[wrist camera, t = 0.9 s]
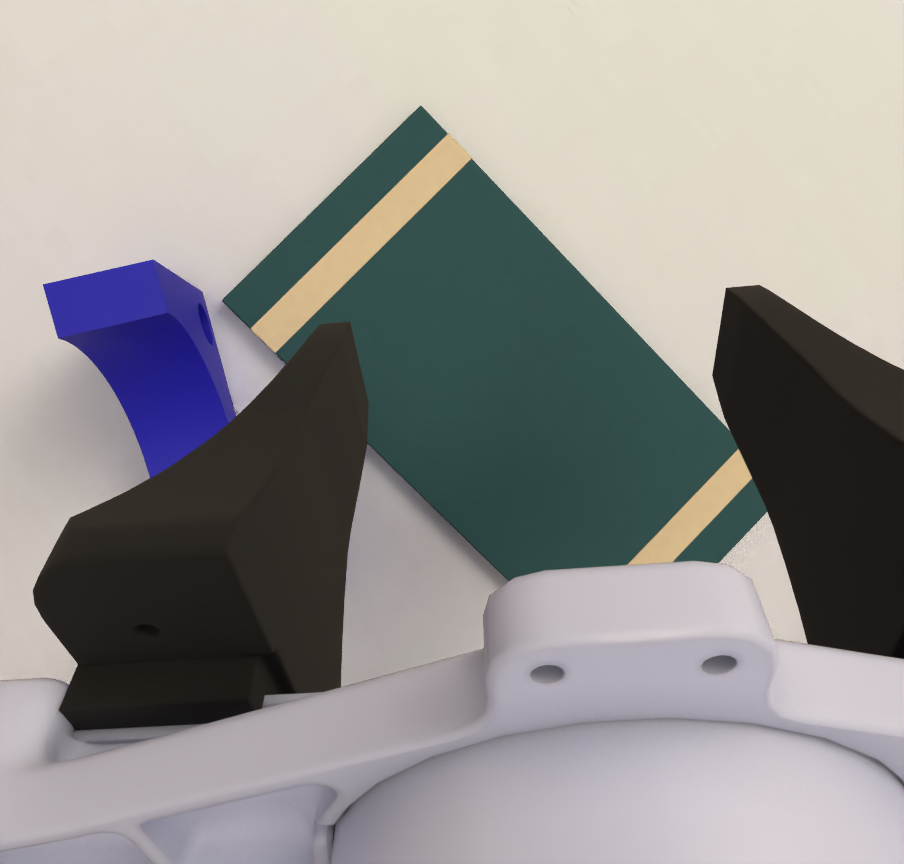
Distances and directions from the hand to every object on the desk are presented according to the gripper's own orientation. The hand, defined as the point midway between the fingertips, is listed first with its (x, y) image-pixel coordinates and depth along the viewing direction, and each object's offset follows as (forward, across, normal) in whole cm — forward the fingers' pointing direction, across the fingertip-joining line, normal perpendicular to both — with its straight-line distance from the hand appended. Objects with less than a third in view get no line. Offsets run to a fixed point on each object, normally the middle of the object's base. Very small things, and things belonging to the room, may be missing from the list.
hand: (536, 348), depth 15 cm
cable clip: (+8, +11, +9) cm, 16 cm away
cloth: (+10, 0, +9) cm, 13 cm away
